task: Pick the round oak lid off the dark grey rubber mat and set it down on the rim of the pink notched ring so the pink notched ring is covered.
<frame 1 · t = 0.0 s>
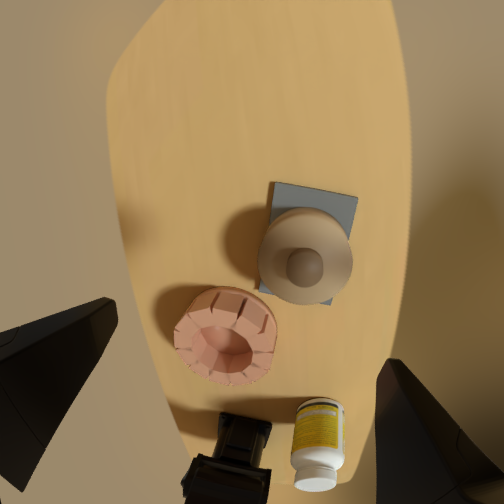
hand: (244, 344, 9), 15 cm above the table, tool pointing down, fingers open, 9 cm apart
pink notched ring: (231, 326, 27), on the table
mat: (306, 246, 23), on the table
supplement bottle: (320, 409, 30), on the table
lid: (305, 248, 23), resting on mat
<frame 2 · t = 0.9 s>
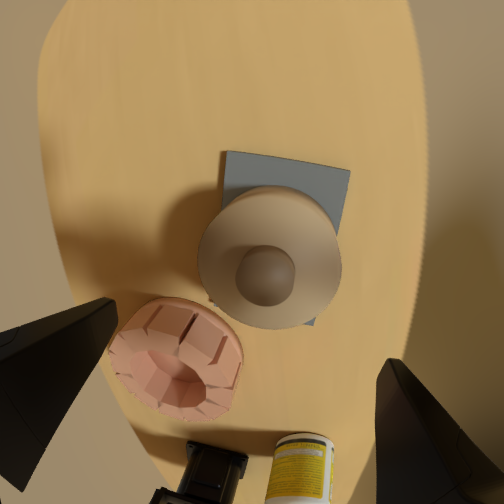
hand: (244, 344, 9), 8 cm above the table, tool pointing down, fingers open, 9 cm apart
pink notched ring: (185, 347, 20), on the table
mat: (275, 243, 16), on the table
supplement bottle: (305, 443, 23), on the table
lid: (275, 246, 16), resting on mat
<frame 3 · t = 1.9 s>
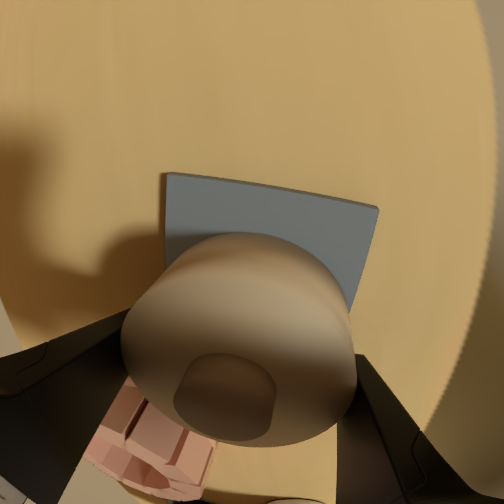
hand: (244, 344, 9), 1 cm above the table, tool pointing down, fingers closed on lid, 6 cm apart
pink notched ring: (147, 418, 14), on the table
mat: (252, 317, 10), on the table
lid: (250, 324, 10), resting on mat, touching gripper
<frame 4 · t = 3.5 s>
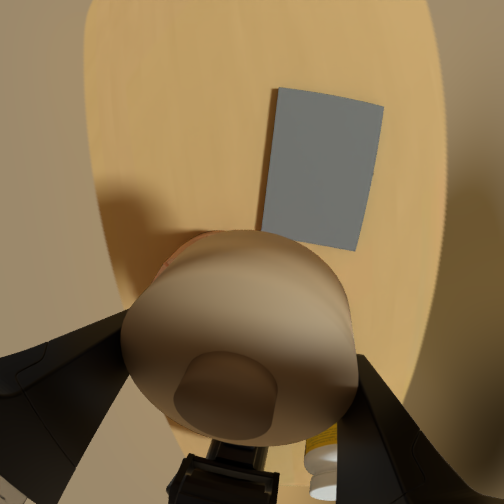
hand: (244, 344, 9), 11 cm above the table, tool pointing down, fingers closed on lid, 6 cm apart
pink notched ring: (226, 286, 21), on the table
mat: (321, 170, 17), on the table
supplement bottle: (338, 397, 25), on the table
lid: (251, 323, 10), point 10 cm above the table, touching gripper
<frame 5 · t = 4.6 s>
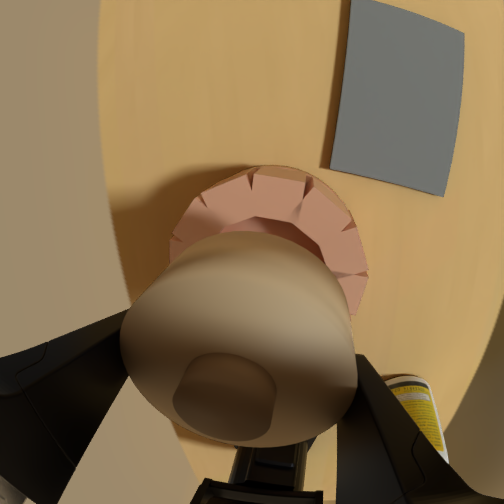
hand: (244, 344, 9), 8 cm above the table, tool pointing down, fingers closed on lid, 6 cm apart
pink notched ring: (273, 246, 16), on the table
mat: (403, 92, 11), on the table
supplement bottle: (395, 395, 19), on the table
lid: (250, 324, 10), point 7 cm above the table, touching gripper
when the fingers open (6 cm above the table, at t = 5.5 s): lid drops 1 cm, resting on pink notched ring.
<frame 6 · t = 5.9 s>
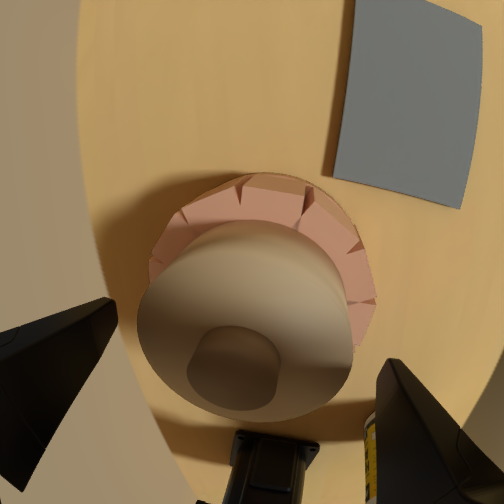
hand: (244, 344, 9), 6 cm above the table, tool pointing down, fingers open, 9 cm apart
pink notched ring: (268, 264, 14), on the table
mat: (417, 89, 10), on the table
supplement bottle: (399, 416, 17), on the table
lid: (255, 306, 11), point 3 cm above the table, touching pink notched ring
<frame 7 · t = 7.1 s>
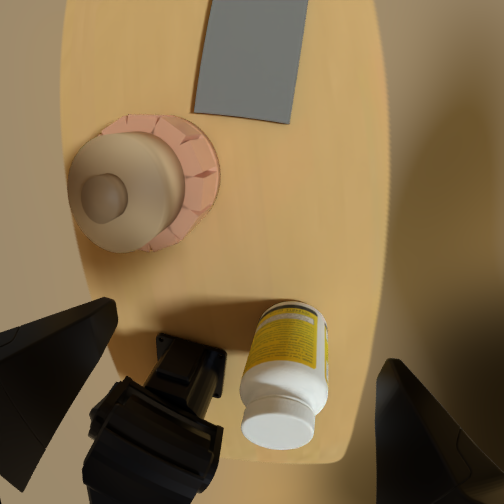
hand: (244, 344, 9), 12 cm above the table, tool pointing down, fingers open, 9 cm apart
pink notched ring: (162, 174, 20), on the table
mat: (251, 50, 16), on the table
supplement bottle: (292, 326, 23), on the table
lid: (136, 184, 17), point 3 cm above the table, touching pink notched ring
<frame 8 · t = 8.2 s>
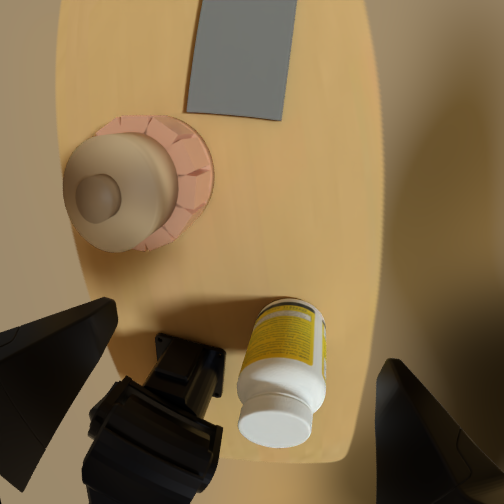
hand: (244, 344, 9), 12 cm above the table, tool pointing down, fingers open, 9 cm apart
pink notched ring: (157, 174, 20), on the table
mat: (242, 49, 16), on the table
supplement bottle: (290, 324, 23), on the table
lid: (130, 184, 17), point 3 cm above the table, touching pink notched ring
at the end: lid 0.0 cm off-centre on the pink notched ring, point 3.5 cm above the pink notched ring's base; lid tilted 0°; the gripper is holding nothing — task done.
